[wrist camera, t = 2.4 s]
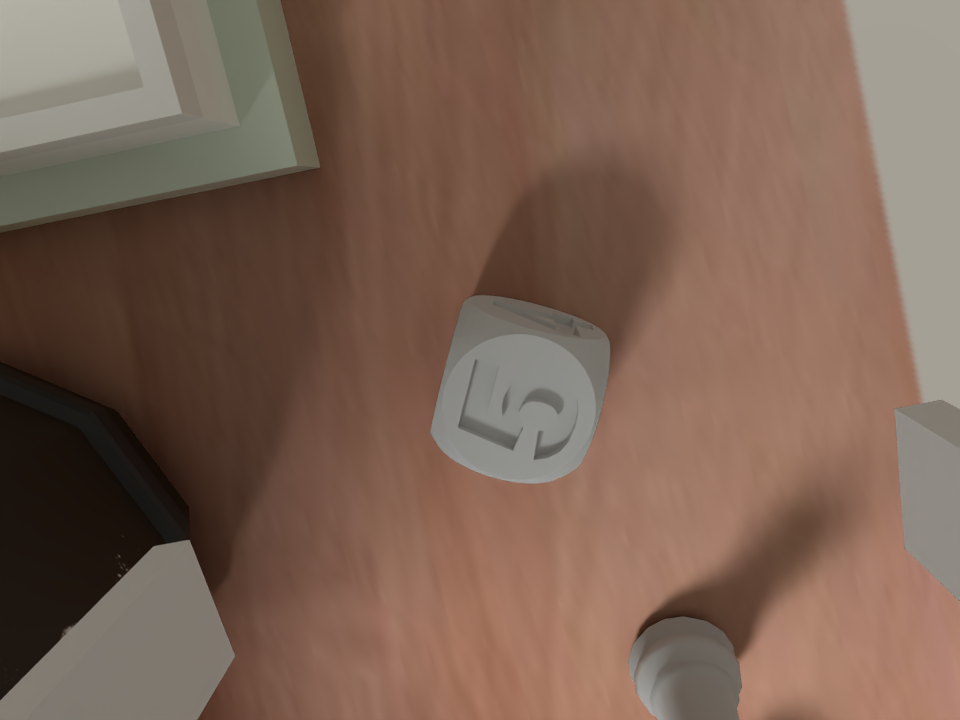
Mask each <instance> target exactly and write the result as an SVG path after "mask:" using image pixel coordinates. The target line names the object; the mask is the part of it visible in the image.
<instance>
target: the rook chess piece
mask: <svg viewBox="0 0 960 720" xmlns="http://www.w3.org/2000/svg"><path fill="white" fill-rule="evenodd" d="M628 663H629V669H630V675H631V679H632V680H633V681H634V683H635V688H636V693H637V695H638V696H639V698H640V699H641V701H642V702H643V704H644V705H645V706H646V708H647V709H648V711H649V712H650V713H651V714H652V715H654V716H656V718H657V719H658V720H739V716H738V712H737V706H738V703H739V701H740V700H739V693H740V690H741V688H742V683H741V674H740V665H739V661H738V660H737V658H736V657H735V653H734V647H733V645H732V644H731V642H730V641H729V639H728V638H727V636H726V635H725V633H724V632H723V631H722V630H720V629H719V628H717V627H715V626H714V625H712V624H711V623H709V622H707V621H704V620H699V619H694V618H689V617H684V616H680V617H673V618H665V619H663V620H661V621H659V622H657V623H655V624H653V625H651V626H649V627H648V628H647V629H646V630H645V631H644V632H643V633H642V635H641V636H640V637H639V638H638V639H637V640H636V641H635V642H634V644H633V647H632V650H631V653H630V656H629V659H628Z"/></svg>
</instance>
